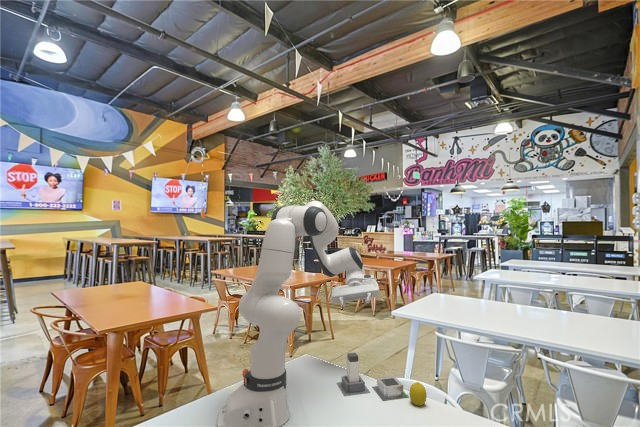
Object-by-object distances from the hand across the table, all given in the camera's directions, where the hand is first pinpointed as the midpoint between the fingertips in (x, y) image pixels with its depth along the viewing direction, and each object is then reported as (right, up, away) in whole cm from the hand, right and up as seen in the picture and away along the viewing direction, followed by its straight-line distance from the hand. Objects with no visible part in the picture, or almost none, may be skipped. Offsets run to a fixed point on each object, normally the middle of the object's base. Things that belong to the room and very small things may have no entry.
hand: (355, 303), depth 125 cm
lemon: (+19, -30, -18) cm, 40 cm away
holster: (-2, -30, -8) cm, 31 cm away
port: (+11, -30, -11) cm, 34 cm away
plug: (-2, -29, -8) cm, 30 cm away
